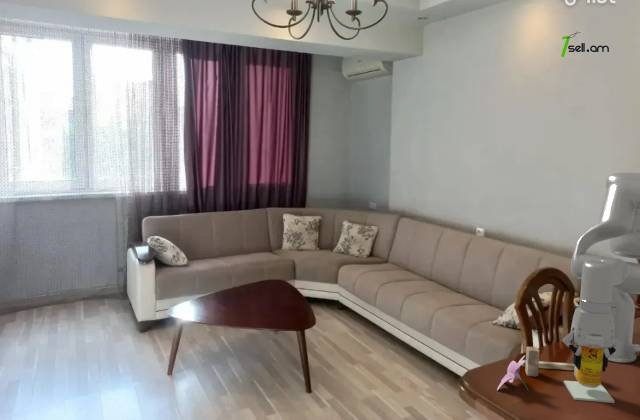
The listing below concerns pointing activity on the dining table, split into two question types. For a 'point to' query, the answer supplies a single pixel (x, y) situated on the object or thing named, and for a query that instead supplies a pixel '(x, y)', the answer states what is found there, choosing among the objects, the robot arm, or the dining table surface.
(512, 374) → the lily
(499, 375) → the dining table surface
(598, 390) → the mat
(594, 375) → the beer can
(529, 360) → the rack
